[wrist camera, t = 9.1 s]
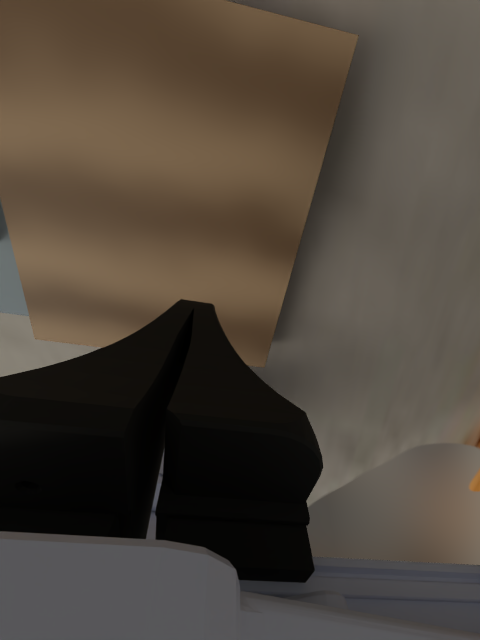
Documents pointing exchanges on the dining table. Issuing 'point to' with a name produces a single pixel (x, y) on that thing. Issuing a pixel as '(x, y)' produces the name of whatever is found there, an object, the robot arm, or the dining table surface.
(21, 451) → the robot arm
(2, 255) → the mat
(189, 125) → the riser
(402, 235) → the dining table surface
